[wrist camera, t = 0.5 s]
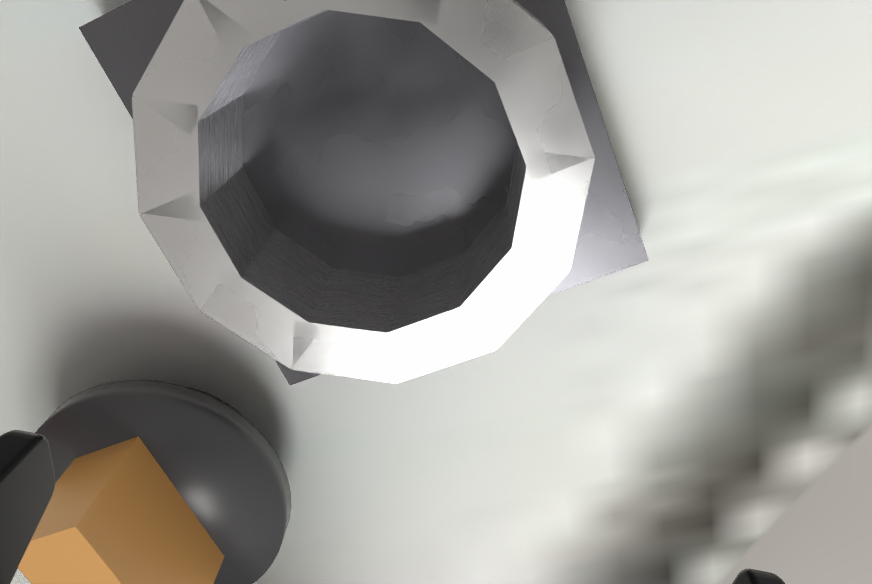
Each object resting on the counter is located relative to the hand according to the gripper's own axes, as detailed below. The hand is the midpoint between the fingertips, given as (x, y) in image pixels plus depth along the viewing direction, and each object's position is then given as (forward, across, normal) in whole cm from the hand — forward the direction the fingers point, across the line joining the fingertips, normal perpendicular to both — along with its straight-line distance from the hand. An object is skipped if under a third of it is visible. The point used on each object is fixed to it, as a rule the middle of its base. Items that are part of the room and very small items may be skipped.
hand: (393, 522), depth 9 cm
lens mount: (+14, +2, +1) cm, 14 cm away
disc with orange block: (+12, +8, +14) cm, 20 cm away
